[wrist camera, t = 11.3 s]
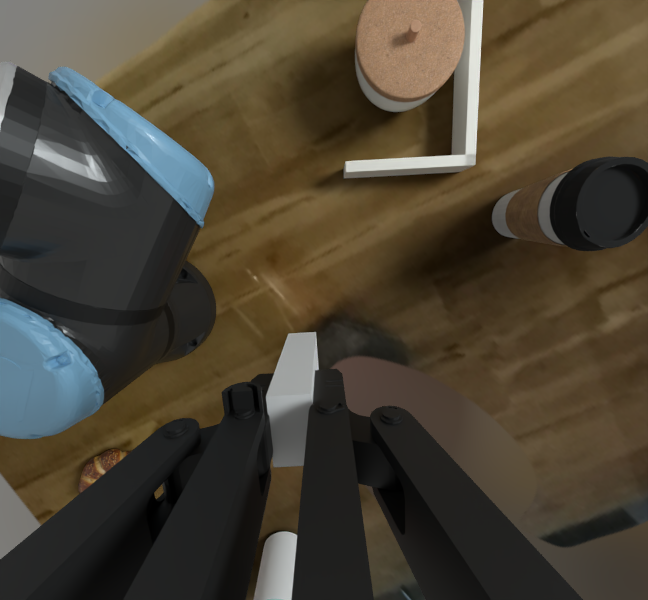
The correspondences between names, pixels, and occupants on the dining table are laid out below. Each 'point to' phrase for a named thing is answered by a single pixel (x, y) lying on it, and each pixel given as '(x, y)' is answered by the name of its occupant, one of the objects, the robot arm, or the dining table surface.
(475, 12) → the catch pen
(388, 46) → the lidded jar
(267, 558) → the can
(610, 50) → the dining table surface
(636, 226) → the coffee cup
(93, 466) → the pretzel
